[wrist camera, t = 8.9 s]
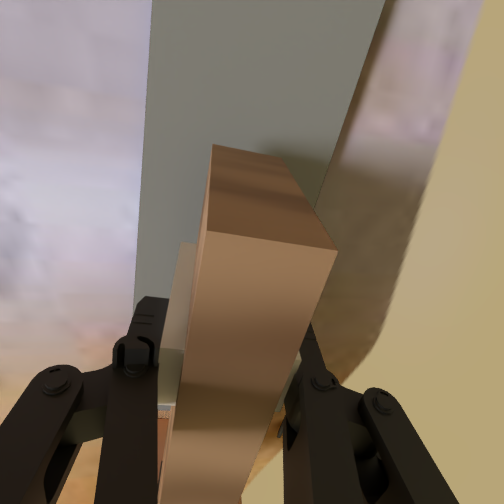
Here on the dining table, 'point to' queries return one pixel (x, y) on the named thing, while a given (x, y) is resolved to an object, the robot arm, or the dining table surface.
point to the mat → (239, 105)
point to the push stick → (241, 322)
